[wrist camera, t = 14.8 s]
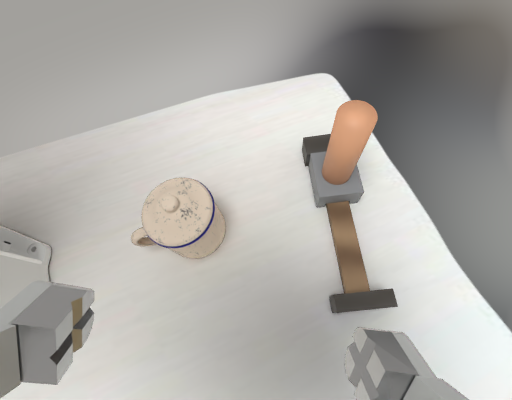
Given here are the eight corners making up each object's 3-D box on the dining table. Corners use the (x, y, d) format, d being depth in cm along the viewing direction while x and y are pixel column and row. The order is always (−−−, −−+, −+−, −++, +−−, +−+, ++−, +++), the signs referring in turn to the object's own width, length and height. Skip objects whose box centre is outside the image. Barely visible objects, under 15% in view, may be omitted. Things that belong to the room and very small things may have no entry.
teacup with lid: (216, 193, 44) (193, 154, 33) (236, 245, 41) (219, 221, 30) (144, 223, 43) (97, 193, 33) (158, 279, 40) (112, 266, 29)
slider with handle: (357, 202, 41) (397, 141, 27) (316, 207, 42) (333, 149, 27) (346, 161, 44) (377, 85, 29) (308, 166, 44) (320, 93, 30)
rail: (387, 307, 36) (397, 306, 33) (332, 312, 36) (337, 312, 33) (345, 144, 45) (350, 131, 42) (302, 150, 46) (303, 137, 42)
